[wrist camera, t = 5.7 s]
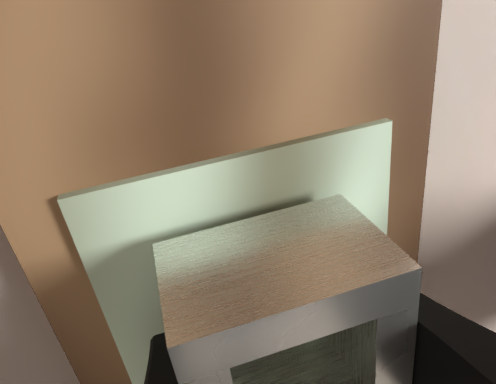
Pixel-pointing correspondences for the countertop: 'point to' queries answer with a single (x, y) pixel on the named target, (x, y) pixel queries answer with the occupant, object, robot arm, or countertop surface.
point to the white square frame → (290, 300)
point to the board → (195, 140)
